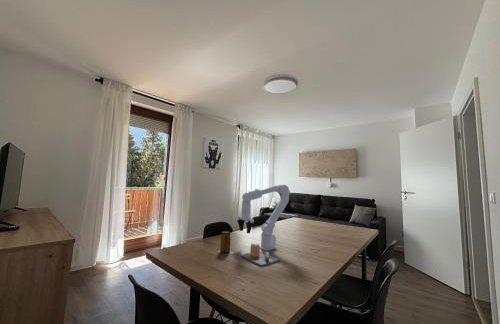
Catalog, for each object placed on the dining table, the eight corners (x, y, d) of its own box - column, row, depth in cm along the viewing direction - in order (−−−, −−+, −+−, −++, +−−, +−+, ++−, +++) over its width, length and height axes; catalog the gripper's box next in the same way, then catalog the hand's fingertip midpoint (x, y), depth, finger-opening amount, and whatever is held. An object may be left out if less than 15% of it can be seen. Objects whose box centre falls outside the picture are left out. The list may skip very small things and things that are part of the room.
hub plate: (258, 252, 132) (258, 244, 132) (279, 261, 118) (280, 252, 118) (240, 256, 123) (240, 247, 123) (261, 266, 109) (261, 256, 110)
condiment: (226, 249, 135) (227, 230, 136) (234, 253, 129) (235, 233, 130) (216, 251, 131) (217, 231, 132) (224, 255, 124) (225, 234, 125)
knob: (258, 253, 126) (258, 242, 127) (259, 256, 122) (260, 245, 122) (249, 253, 126) (250, 242, 126) (251, 256, 121) (251, 245, 121)
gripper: (234, 209, 144) (233, 230, 143) (248, 212, 133) (246, 235, 132) (242, 209, 149) (241, 229, 148) (256, 212, 138) (255, 233, 136)
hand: (244, 232), depth 140 cm, fingers open, 7 cm apart
